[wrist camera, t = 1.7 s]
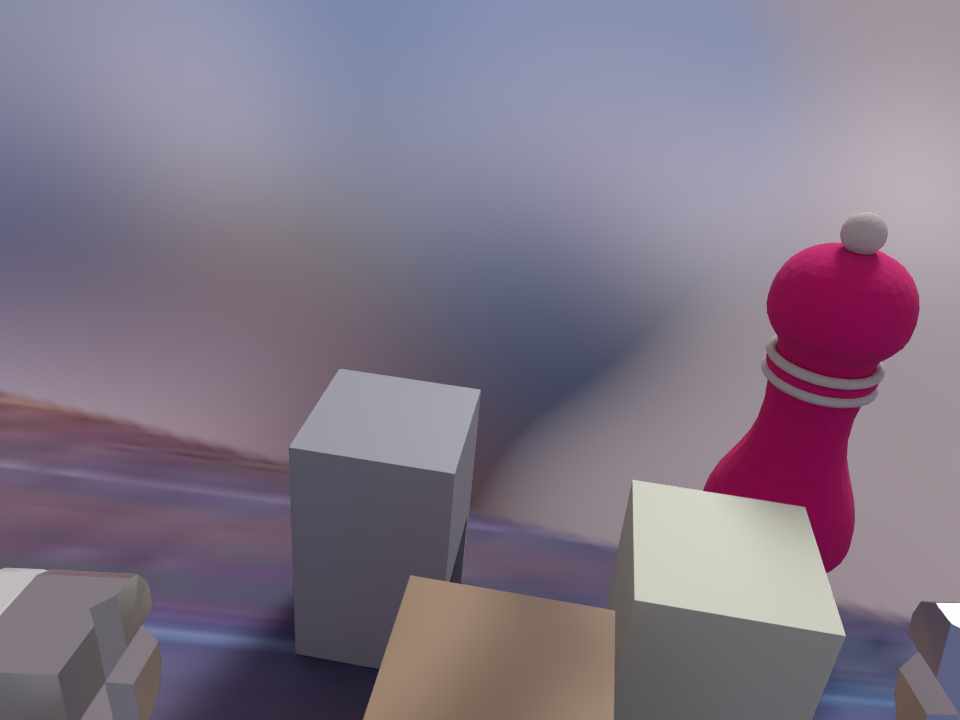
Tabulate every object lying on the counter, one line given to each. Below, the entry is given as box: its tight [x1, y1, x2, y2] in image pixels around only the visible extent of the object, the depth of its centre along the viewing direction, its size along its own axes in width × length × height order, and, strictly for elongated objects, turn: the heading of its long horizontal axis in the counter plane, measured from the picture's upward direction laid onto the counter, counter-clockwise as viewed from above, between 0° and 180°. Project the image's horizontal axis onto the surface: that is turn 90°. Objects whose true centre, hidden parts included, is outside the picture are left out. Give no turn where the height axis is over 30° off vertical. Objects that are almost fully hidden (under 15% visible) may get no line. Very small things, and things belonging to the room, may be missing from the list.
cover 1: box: [289, 369, 481, 669], centre depth 36 cm, size 6×6×11 cm
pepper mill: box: [703, 212, 919, 573], centre depth 38 cm, size 7×7×20 cm
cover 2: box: [606, 480, 846, 720], centre depth 31 cm, size 6×6×11 cm
